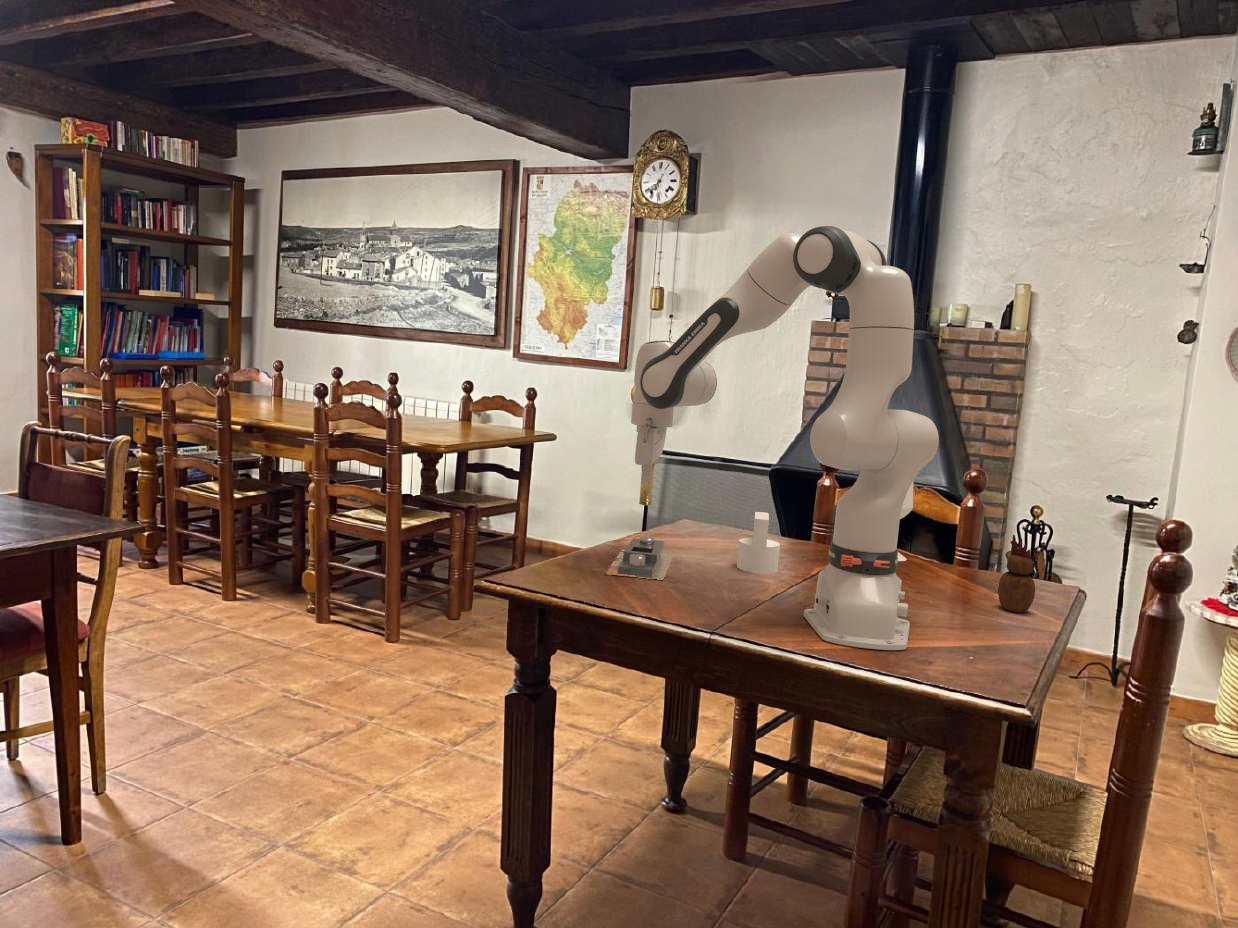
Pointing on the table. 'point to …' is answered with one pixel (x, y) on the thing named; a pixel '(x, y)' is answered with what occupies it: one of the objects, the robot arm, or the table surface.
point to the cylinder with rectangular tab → (758, 549)
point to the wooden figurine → (1017, 580)
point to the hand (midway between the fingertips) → (647, 481)
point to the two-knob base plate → (644, 559)
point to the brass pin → (647, 489)
